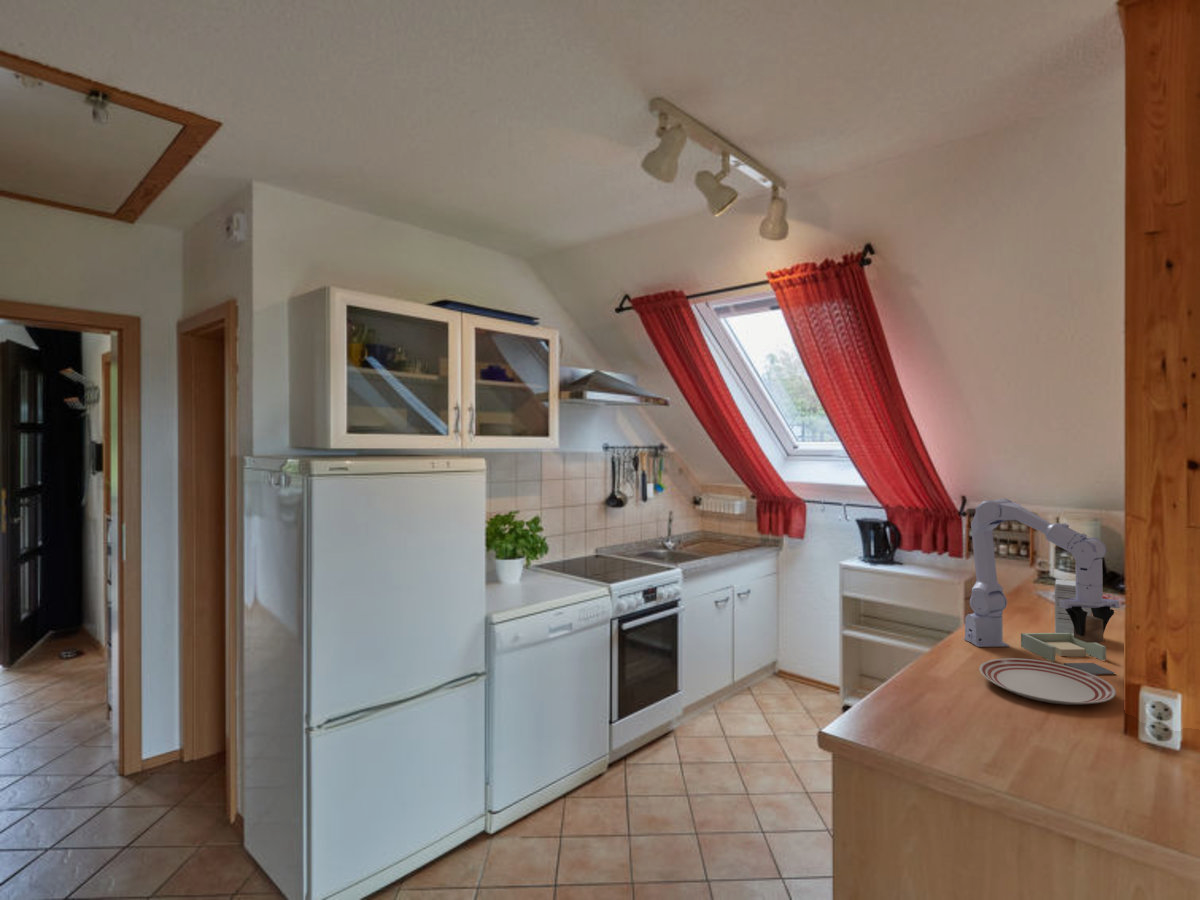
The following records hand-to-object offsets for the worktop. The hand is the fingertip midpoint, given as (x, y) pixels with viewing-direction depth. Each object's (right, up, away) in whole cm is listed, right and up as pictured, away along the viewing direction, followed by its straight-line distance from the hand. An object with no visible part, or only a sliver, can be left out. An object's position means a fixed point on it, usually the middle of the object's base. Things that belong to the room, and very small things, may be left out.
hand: (1089, 634), depth 168 cm
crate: (+2, -9, +13) cm, 16 cm away
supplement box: (+17, -9, +29) cm, 35 cm away
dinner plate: (-21, -10, -13) cm, 27 cm away
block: (0, -2, 0) cm, 2 cm away
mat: (0, -9, 0) cm, 9 cm away
